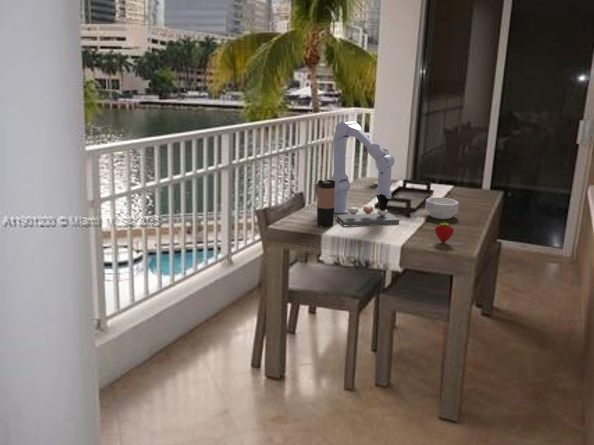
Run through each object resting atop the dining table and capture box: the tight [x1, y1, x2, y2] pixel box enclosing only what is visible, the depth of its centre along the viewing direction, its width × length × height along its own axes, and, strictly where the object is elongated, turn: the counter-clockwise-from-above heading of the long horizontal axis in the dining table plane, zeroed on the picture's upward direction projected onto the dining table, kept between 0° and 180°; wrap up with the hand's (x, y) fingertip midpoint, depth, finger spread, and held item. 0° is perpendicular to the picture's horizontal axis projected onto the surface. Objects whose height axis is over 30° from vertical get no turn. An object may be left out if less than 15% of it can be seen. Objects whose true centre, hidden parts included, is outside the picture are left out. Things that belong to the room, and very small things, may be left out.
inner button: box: [348, 206, 359, 215], centre depth 265 cm, size 4×4×3 cm
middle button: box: [362, 205, 374, 214], centre depth 266 cm, size 4×4×3 cm
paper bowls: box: [424, 196, 460, 220], centre depth 278 cm, size 15×15×8 cm
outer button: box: [377, 208, 388, 217], centre depth 268 cm, size 4×4×3 cm
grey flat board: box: [336, 212, 400, 226], centre depth 267 cm, size 26×12×2 cm, turn 103°
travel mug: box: [316, 179, 335, 228], centre depth 258 cm, size 8×8×20 cm
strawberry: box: [434, 220, 454, 244], centre depth 237 cm, size 6×8×10 cm
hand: (382, 210), depth 268 cm, fingers closed, pressing on outer button
